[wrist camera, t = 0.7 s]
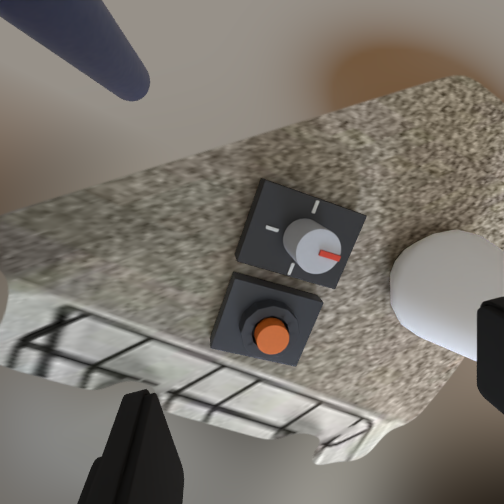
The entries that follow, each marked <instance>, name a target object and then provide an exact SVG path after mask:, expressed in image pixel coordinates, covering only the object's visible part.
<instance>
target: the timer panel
mask: <svg viewBox="0 0 504 504" xmlns="http://www.w3.org/2000/svg"><path fill="white" fill-rule="evenodd" d="M366 217H367V216H366V215H363V214H361V213H358V212H355V211H353V210H350V209H347V208H344V207H341V206H339V205H336V204H333V203H330V202H327V201H324V200H322V199H319V198H316V197H313V196H310V195H308V194H305V193H302V192H299V191H296V190H294V189H291V188H288V187H285V186H282V185H280V184H277V183H274V182H271V181H268V180H265V179H263V178H261V180H260V183H259V186H258V189H257V191H256V194H255V197H254V200H253V203H252V206H251V209H250V212H249V215H248V217H247V220H246V223H245V226H244V229H243V232H242V235H241V238H240V241H239V243H238V246H237V249H236V252H235V256H236V259H237V261H238V262H241V263H245V264H248V265H252V266H255V267H259V268H262V269H266V270H269V271H273V272H276V273H280V274H283V275H287V276H290V277H294V278H297V279H301V280H304V281H308V282H311V283H315V284H318V285H322V286H325V287H329V288H332V289H335V288H336V286H337V283H338V281H339V279H340V277H341V274H342V272H343V270H344V267H345V265H346V263H347V260H348V258H349V256H350V254H351V251H352V249H353V247H354V244H355V242H356V240H357V237H358V235H359V233H360V231H361V228H362V226H363V224H364V221H365V219H366ZM305 218H306V219H311V220H313V221H315V222H316V223H318V224H320V225H321V226H323V227H325V228H326V229H328V230H330V231H331V232H333V233H334V234H335V235H336V236H337V237H338V239H339V241H340V244H341V254H340V256H341V258H340V261H339V262H338V261H337V263H336V264H335V265H334V266H333V267H332V268H331V269H330V270H328V271H326V272H324V273H320V274H312V273H308V272H306V271H304V270H303V269H302V268H301V267H300V266H299V265H298V264H297V263H296V261H295V260H294V259H293V258H292V257H291V256H290V254H289V253H288V252H287V251H286V249H285V247H284V244H283V236H284V232H285V230H286V229H287V227H288V226H289V225H290V224H291V223H292V222H294V221H296V220H298V219H305Z"/></svg>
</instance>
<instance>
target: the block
mask: <svg viewBox="0 0 504 504" xmlns="http://www.w3.org/2000/svg"><path fill="white" fill-rule="evenodd" d="M322 305H323V301H322V300H321V299H320V298H319V297H318V295H315V294H312V293H308V292H304V291H301V290H297V289H294V288H290V287H286V286H283V285H279V284H276V283H272V282H268V281H265V280H261V279H258V278H254V277H250V276H247V275H243V274H240V273H236V272H233V274H232V277H231V280H230V282H229V285H228V288H227V291H226V294H225V297H224V300H223V302H222V305H221V308H220V311H219V314H218V317H217V320H216V322H215V325H214V328H213V331H212V334H211V337H210V346H211V348H212V349H217V350H222V351H226V352H231V353H235V354H240V355H245V356H249V357H254V358H259V359H263V360H268V361H272V362H277V363H282V364H286V365H291V366H295V367H296V366H297V363H298V361H299V359H300V356H301V354H302V352H303V349H304V347H305V345H306V342H307V340H308V338H309V335H310V333H311V331H312V328H313V326H314V324H315V321H316V319H317V317H318V314H319V312H320V310H321V307H322ZM266 318H277V319H279V320H281V321H282V322H283V323H284V325H285V327H286V329H287V331H288V333H289V343H288V345H287V347H286V348H285V349H284V350H283V351H281V352H280V353H277V354H266V353H263V352H262V351H261V350H260V349H259V348H258V346H257V343H256V340H255V336H254V331H255V328H256V326H257V324H258V323H259V322H260V321H262V320H263V319H266Z"/></svg>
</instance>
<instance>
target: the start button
mask: <svg viewBox="0 0 504 504" xmlns="http://www.w3.org/2000/svg"><path fill="white" fill-rule="evenodd" d="M254 336H255V340H256V343H257V346H258V348H259V349H260V350H261V351H262V352H263V353H266V354H277V353H280V352H281V351H283V350H284V349H285V348H286V347H287V345H288V343H289V333H288V331H287V329H286V327H285V325H284V323H283V322H282V321H281V320H279V319H277V318H266V319H263V320H262V321H260V322H259V323H258V324H257V326H256V328H255V331H254Z"/></svg>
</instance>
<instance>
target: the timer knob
mask: <svg viewBox="0 0 504 504" xmlns="http://www.w3.org/2000/svg"><path fill="white" fill-rule="evenodd" d="M283 244H284V247H285V249H286V251H287V252H288V253H289V254H290V256H291V257H292V258H293V259H294V260H295V261H296V263H297V264H298V265H299V266H300V267H301V268H302V269H303V270H304V271H306V272H308V273H312V274H320V273H324V272H326V271H328V270H330V269H331V268H332V267H333V266H334V265H335V264H336V263H337V261H338V262H339V261H340V258H341V256H340V254H341V244H340V241H339V239H338V237H337V236H336V235H335V234H334V233H333V232H331V231H330V230H328V229H326V228H325V227H323V226H321V225H320V224H318V223H316V222H315V221H313V220H311V219H306V218H305V219H298V220H296V221H294V222H292V223H291V224H290V225H289V226H288V227H287V229H286V230H285V232H284V236H283Z"/></svg>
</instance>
